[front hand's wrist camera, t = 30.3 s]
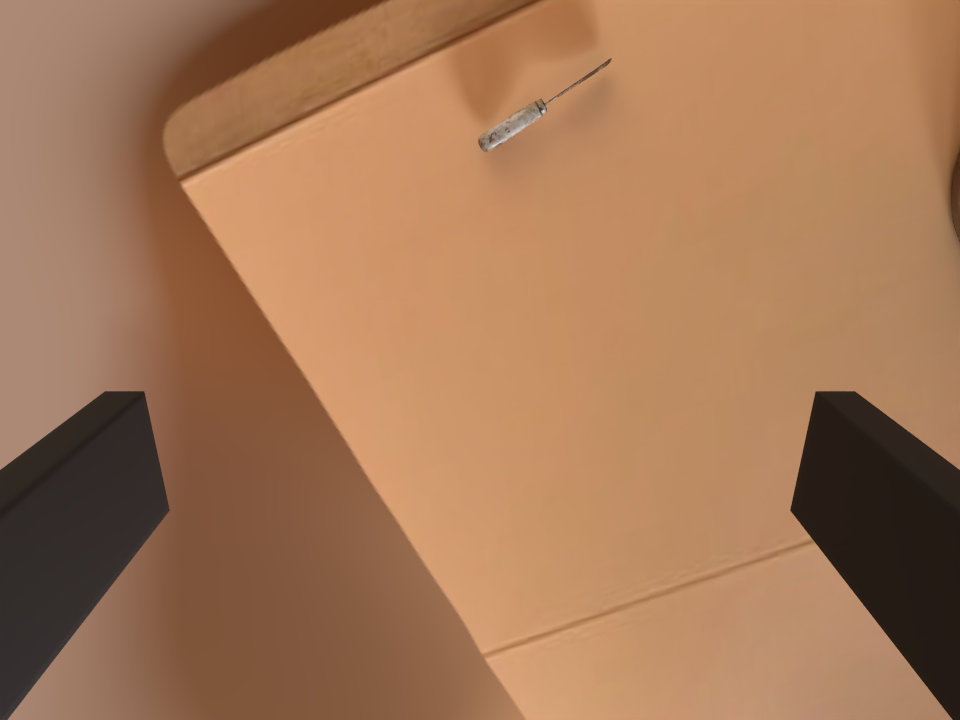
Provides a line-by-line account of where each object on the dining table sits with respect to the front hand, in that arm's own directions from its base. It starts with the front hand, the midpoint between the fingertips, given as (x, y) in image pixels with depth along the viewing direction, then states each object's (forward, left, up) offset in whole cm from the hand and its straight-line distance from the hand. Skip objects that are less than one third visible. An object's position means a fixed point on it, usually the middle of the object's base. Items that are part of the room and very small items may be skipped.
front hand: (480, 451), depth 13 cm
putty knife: (-6, +4, -26) cm, 27 cm away
